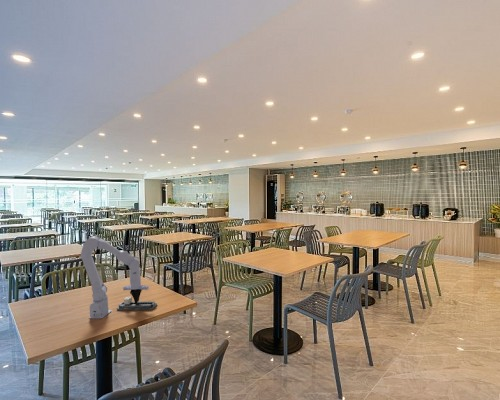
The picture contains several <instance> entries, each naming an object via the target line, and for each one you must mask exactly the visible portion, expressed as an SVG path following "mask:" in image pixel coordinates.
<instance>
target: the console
mask: <svg viewBox="0 0 500 400" xmlns="http://www.w3.org/2000/svg"><path fill="white" fill-rule="evenodd" d="M157 306H158V303H157V302H156V301H154V300H153V301H151V300H149V301H145V300H144V301H143V300H142V301H140V300H139V301H138V302H137V303H135V301H134V300H133V301H132V302H131V305H126V304H124V301H123V302H120V303H119V304H118V307H117V308H116V311H124V312H125V311H153V310H154V309H155V308H156V307H157Z"/></svg>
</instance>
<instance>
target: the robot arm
mask: <svg viewBox="0 0 500 400" xmlns="http://www.w3.org/2000/svg"><path fill="white" fill-rule="evenodd" d="M95 249H96V250H104V251H107V252H109V253H111V254H112V255H115V256H116V259H117V260H118V261H119V262H121V263H122V264H123V265H126V266H128V268H129V283H130V284H129V285H124V286H122V289H123V291H129V293H130V295H131V297H132V299H133V302H134V301H135V303H137V302H138V301H140V296H141V293H142V291H143V290H144V291H148V290H149V285H145V284H142V278H141V270H140V269H141V268H140V259H139V258H138V257H135V255H131V254H130V253H129V252H128V250H119V249H117V248H116V247H115V246H114V245H112V244H111V243H109V242H108V241H106V240H105V239H103V238H101V237H99V236H97V235H92V236H90V237H89V238H87V239H86V240H85V241H84V243H82V249H81V252H80V258H81V260H82V263H83V266H84V268H85V272H86V273H87V276H88V279H89V282H90V283H91V291H92V302H91V304H90V305H89V317H88V319H103V318H105V317H106V316H107V315H109V314H110V313H111V312H113V310H112V309H109V299H108V297H109V296H108V295H107V292H108V287H107V285H106V284H104V281H103V280H101V276H100V274H99V272H98V271H99V270H98V269H97V266H96V263H95V260H94V257H93V255H92V254H93V252H94V251H95Z"/></svg>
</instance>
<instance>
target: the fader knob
mask: <svg viewBox="0 0 500 400" xmlns="http://www.w3.org/2000/svg"><path fill="white" fill-rule="evenodd" d="M123 302H124V304H126V305H131V302H133V296H126V297H124V298H123Z"/></svg>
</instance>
